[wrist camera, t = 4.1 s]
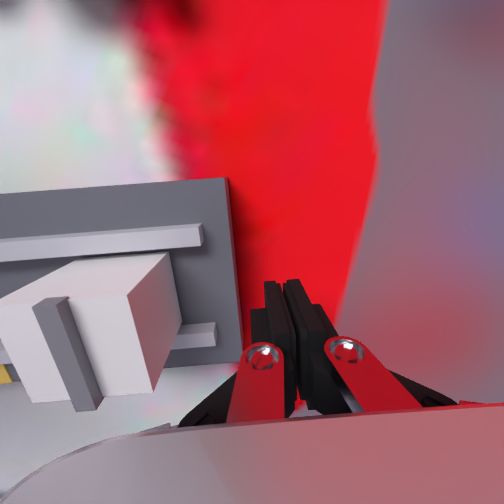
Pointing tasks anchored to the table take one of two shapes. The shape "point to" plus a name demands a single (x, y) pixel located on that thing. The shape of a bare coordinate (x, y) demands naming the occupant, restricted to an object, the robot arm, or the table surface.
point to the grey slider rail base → (135, 252)
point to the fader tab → (93, 328)
